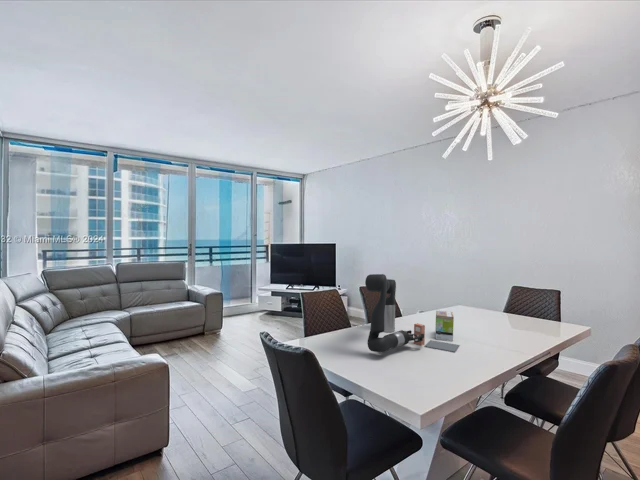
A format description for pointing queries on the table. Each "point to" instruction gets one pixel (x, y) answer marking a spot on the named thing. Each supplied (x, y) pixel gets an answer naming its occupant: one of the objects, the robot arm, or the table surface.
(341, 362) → the table surface
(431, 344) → the mat
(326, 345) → the table surface
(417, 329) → the card box
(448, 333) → the tea box
